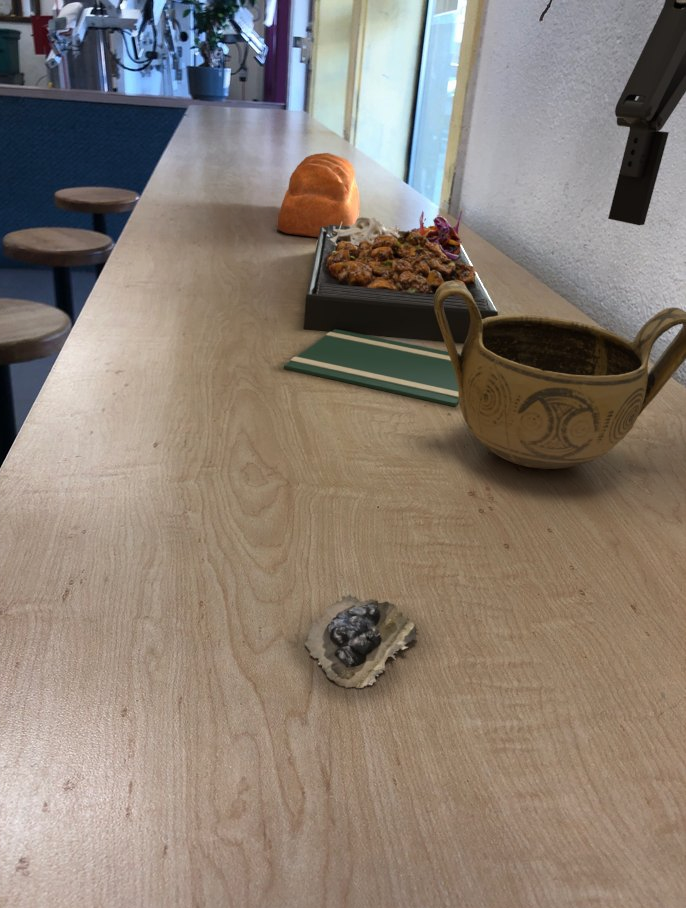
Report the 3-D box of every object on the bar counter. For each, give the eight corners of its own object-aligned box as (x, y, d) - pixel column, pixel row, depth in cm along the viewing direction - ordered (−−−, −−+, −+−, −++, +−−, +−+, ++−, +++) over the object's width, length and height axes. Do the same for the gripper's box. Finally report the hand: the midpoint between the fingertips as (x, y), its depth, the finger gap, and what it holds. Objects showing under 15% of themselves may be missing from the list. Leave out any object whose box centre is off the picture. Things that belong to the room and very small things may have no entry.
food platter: (318, 252, 141) (322, 191, 136) (454, 264, 141) (464, 204, 136) (303, 328, 102) (309, 247, 97) (492, 345, 102) (507, 265, 97)
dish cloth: (486, 362, 96) (487, 358, 96) (455, 406, 83) (456, 402, 83) (334, 331, 102) (334, 328, 102) (283, 368, 89) (283, 364, 89)
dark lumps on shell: (422, 617, 51) (426, 594, 50) (407, 702, 45) (412, 677, 44) (321, 597, 52) (324, 574, 52) (292, 677, 46) (294, 652, 45)
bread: (272, 234, 151) (276, 161, 145) (291, 207, 179) (295, 144, 172) (353, 242, 151) (360, 169, 144) (360, 213, 178) (366, 151, 171)
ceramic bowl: (412, 480, 68) (439, 309, 61) (413, 404, 83) (434, 260, 75) (675, 511, 67) (736, 340, 59) (628, 429, 81) (672, 283, 74)
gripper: (779, -73, 64) (698, 200, 75) (614, -132, 50) (542, 217, 60) (880, -78, 60) (778, 215, 70) (730, -145, 45) (630, 237, 56)
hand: (669, 216), depth 65 cm, fingers open, 13 cm apart
